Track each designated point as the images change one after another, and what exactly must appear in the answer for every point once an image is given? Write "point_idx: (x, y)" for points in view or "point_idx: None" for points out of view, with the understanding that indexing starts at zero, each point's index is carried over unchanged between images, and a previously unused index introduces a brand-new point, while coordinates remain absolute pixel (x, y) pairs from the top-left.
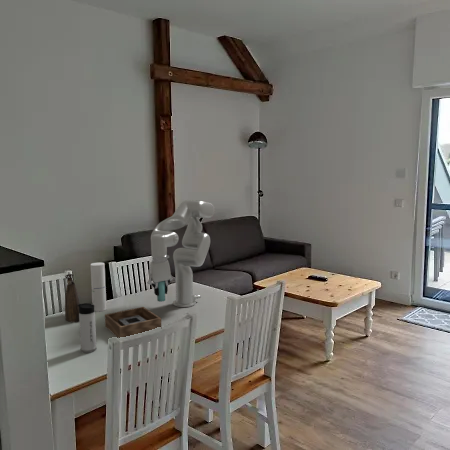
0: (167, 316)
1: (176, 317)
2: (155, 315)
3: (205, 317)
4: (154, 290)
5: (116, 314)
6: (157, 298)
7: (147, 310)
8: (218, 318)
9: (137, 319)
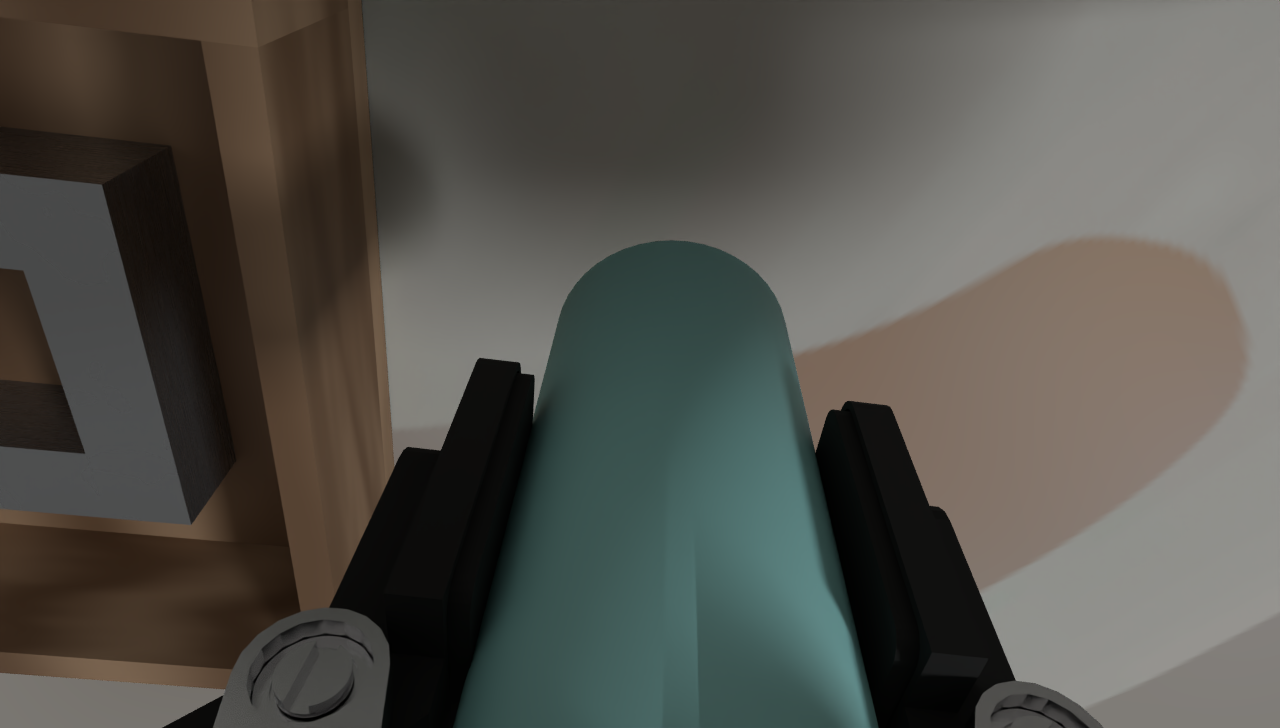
0: (774, 190)
1: (847, 325)
2: (311, 587)
3: (1108, 554)
4: (369, 548)
5: None
6: (549, 356)
7: (260, 304)
8: (1165, 650)
9: (56, 327)
